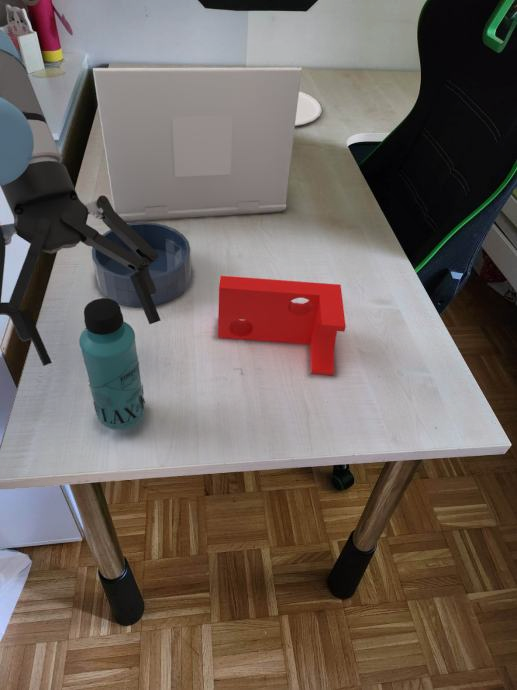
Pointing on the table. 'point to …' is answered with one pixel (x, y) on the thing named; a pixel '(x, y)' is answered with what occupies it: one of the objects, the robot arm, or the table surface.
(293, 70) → the laptop
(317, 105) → the plate
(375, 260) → the table surface
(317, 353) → the bracket
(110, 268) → the bowl
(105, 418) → the beverage bottle
